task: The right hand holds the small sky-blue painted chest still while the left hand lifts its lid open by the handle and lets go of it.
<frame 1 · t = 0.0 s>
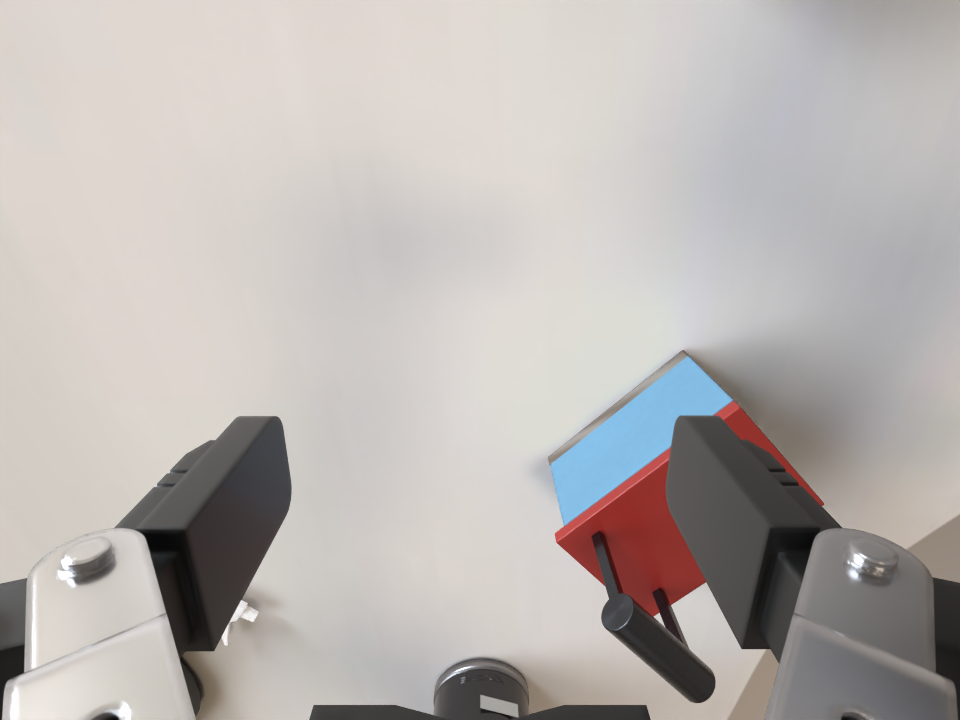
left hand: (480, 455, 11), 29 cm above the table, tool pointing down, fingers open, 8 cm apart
chest: (649, 444, 44), on the table
lid: (708, 560, 32), point 13 cm above the table, hinge at 0.0°
wireless presentation dongle: (168, 660, 53), on the table
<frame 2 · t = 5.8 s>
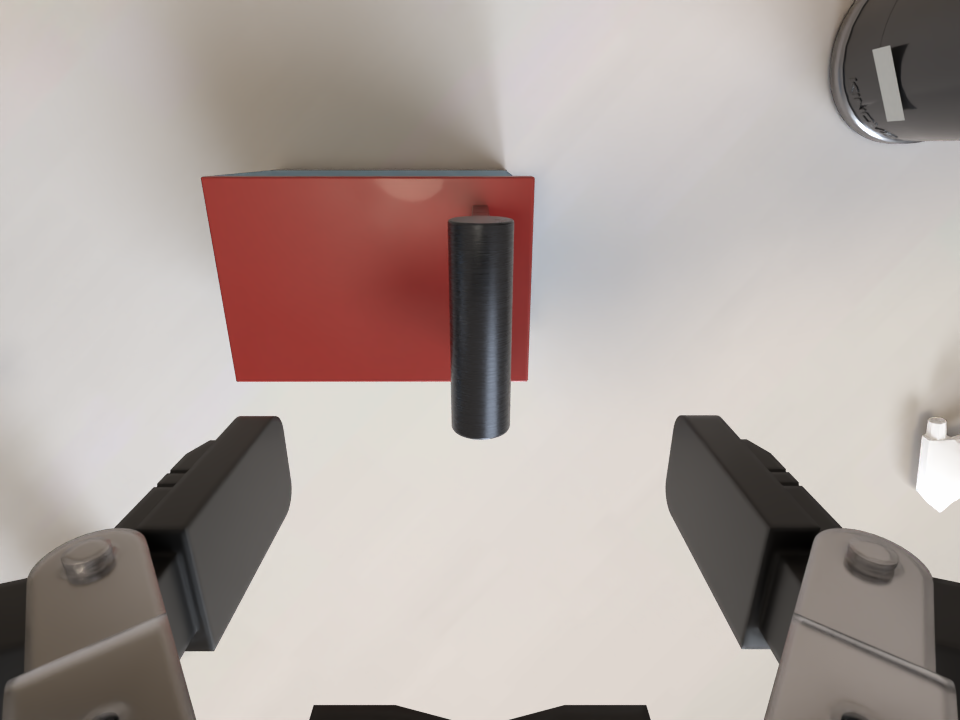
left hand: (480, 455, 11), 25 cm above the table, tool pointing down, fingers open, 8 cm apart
chest: (396, 250, 34), on the table
lid: (360, 305, 22), point 13 cm above the table, hinge at 0.0°
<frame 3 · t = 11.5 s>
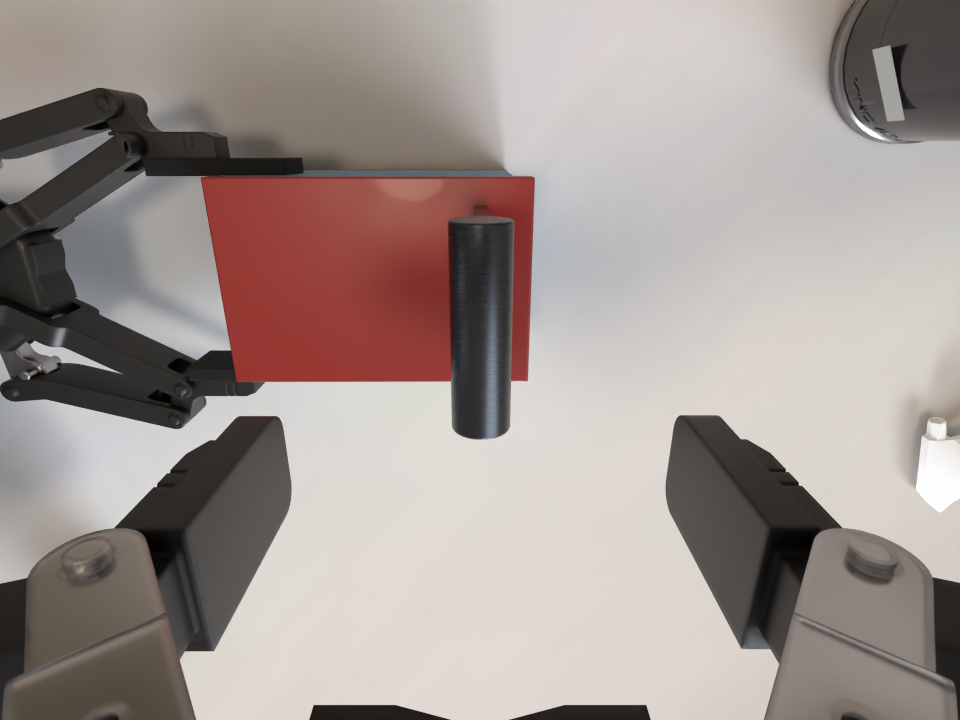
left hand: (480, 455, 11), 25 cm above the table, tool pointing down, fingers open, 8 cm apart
right hand: (306, 272, 28), fingers closed on chest, 10 cm apart
chest: (396, 250, 34), on the table, touching right hand
lid: (360, 306, 22), point 13 cm above the table, hinge at 0.0°
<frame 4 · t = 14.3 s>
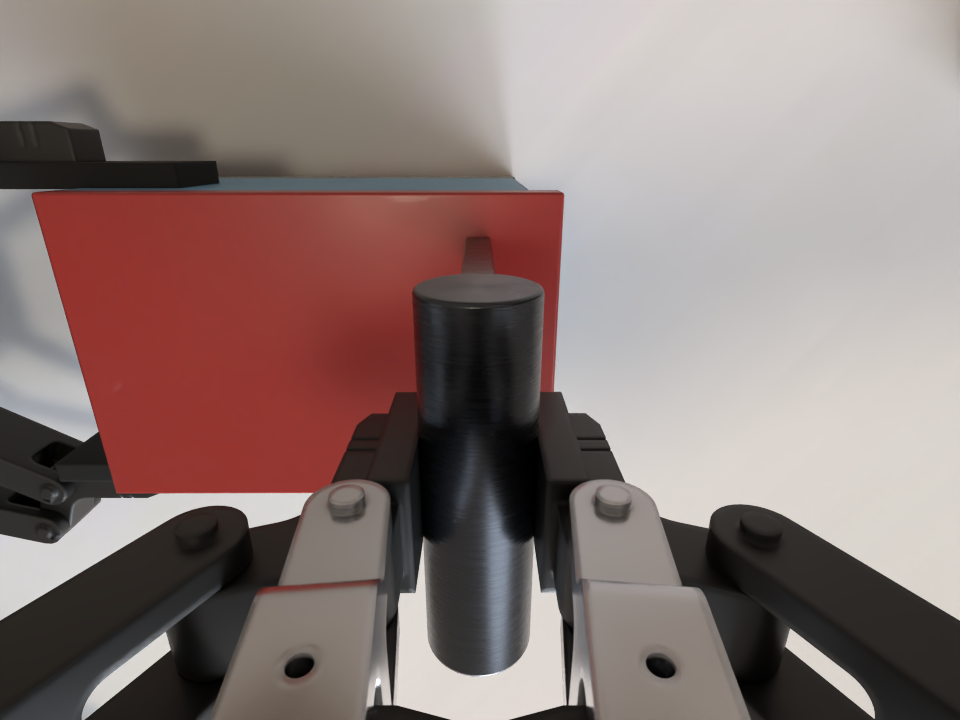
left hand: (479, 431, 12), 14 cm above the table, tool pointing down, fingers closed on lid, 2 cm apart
chest: (365, 285, 26), on the table, touching right hand
lid: (278, 408, 13), point 13 cm above the table, hinge at -0.1°, touching left hand
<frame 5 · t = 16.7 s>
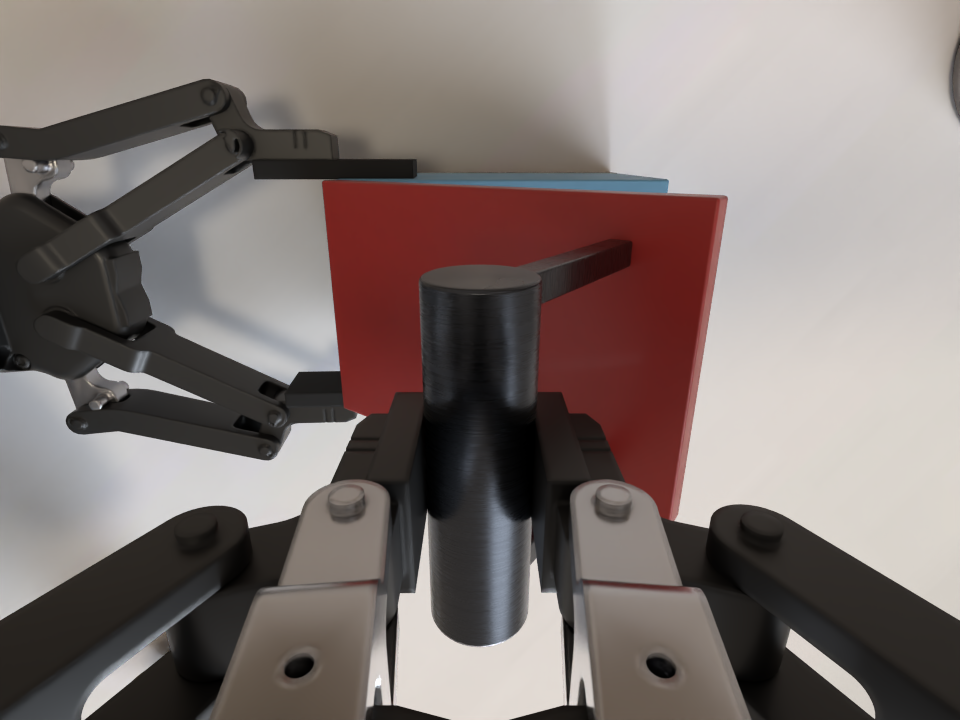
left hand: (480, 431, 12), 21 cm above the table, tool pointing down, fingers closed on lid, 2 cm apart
right hand: (419, 285, 26), fingers closed on chest, 10 cm apart
chest: (488, 259, 32), on the table, touching right hand
lid: (407, 363, 16), point 17 cm above the table, hinge at 38.3°, touching left hand
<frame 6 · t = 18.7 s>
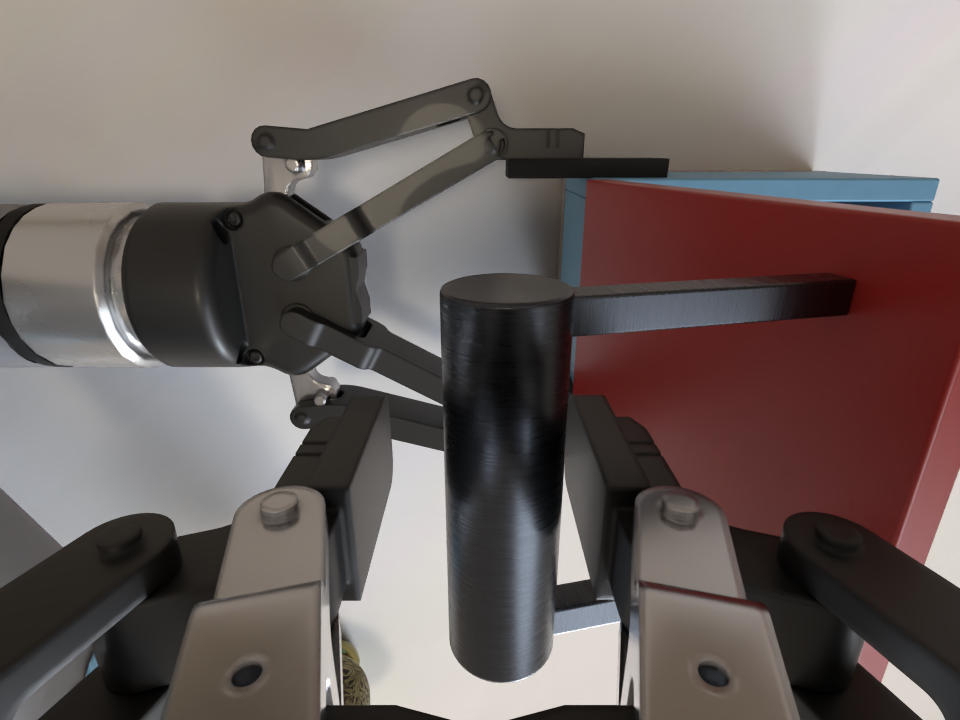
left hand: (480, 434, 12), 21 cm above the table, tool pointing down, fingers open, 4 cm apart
right hand: (645, 285, 25), fingers closed on chest, 10 cm apart
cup: (338, 649, 42), on the table
chest: (676, 259, 31), on the table, touching right hand
lid: (567, 373, 15), point 17 cm above the table, hinge at 76.7°
when the right hand's fingers open (7 cm above the table, at t = 22.4 s): chest stays where it is, on the table.
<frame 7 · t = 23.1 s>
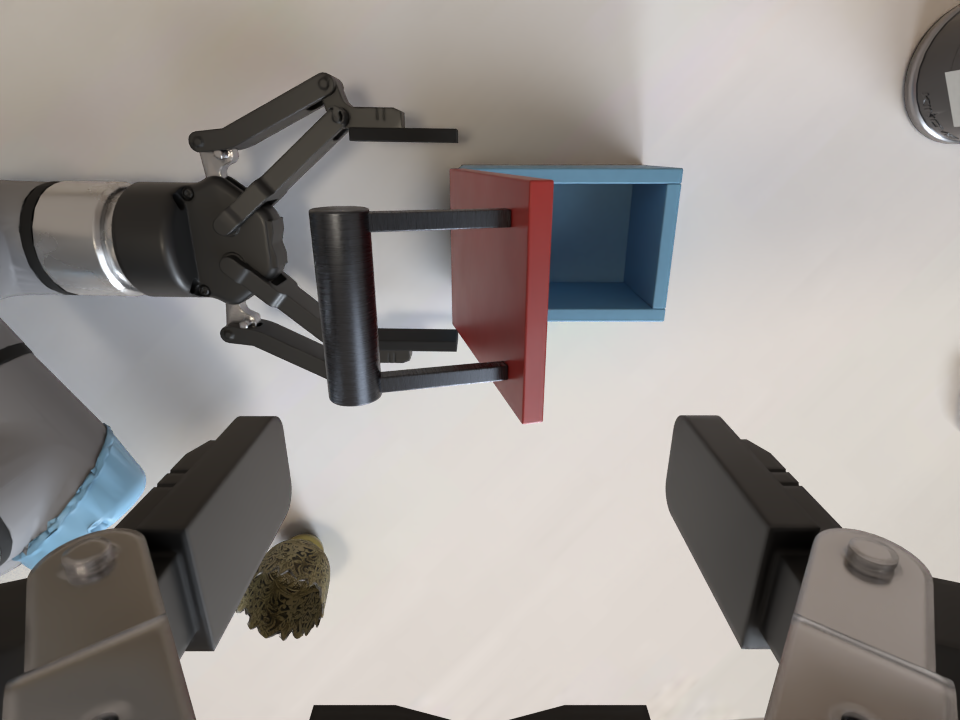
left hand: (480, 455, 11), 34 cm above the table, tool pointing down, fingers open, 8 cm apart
right hand: (458, 245, 37), fingers open, 13 cm apart
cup: (307, 543, 54), on the table
chest: (549, 230, 43), on the table
lid: (412, 277, 27), point 17 cm above the table, hinge at 75.7°
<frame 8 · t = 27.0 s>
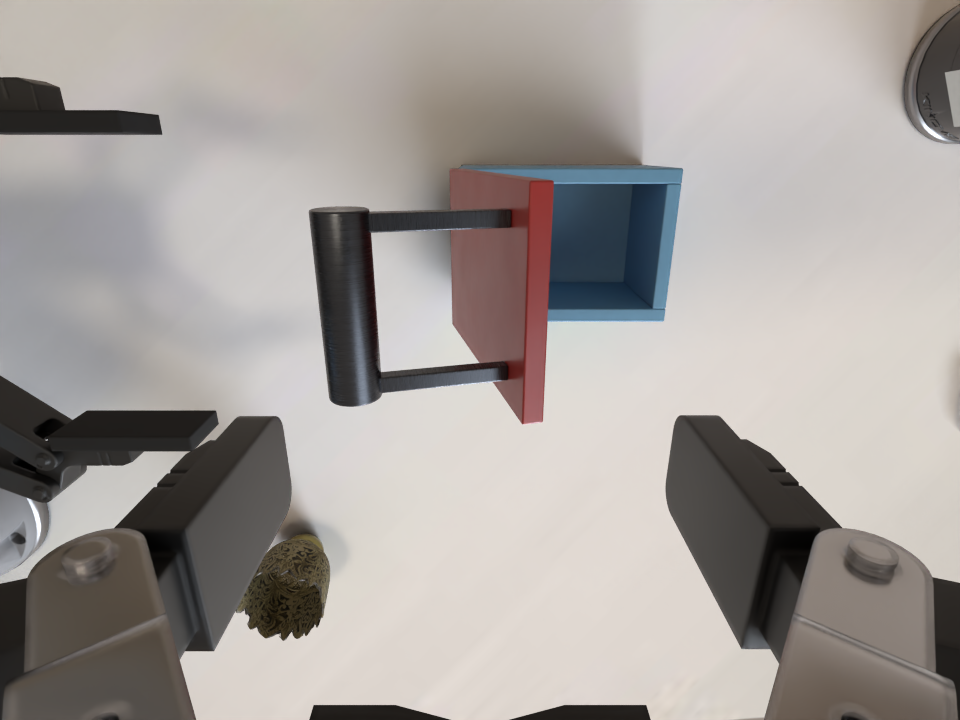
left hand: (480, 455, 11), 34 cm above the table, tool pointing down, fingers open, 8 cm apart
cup: (307, 543, 54), on the table
chest: (549, 230, 43), on the table
lid: (412, 277, 27), point 17 cm above the table, hinge at 75.7°
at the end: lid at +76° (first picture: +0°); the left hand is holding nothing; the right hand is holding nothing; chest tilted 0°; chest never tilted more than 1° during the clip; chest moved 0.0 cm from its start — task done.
